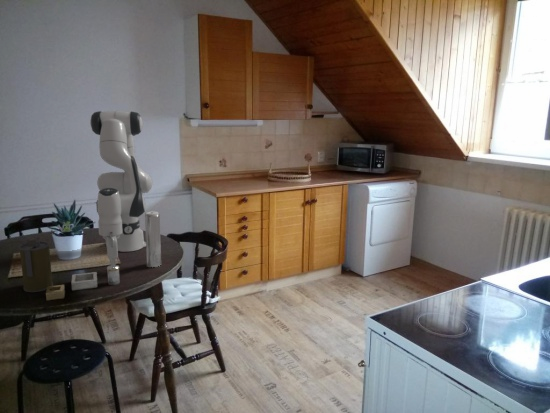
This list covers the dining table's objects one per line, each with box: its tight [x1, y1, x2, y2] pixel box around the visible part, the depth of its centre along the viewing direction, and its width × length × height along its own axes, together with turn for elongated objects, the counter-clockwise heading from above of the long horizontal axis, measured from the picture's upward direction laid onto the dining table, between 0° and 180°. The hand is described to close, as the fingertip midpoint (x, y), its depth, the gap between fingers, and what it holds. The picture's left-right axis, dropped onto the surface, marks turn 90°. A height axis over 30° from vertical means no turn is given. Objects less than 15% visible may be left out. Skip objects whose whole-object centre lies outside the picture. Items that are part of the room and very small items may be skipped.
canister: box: [18, 236, 54, 293], centre depth 166 cm, size 11×10×20 cm
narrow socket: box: [45, 284, 66, 301], centre depth 161 cm, size 6×6×3 cm
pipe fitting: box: [106, 264, 121, 286], centre depth 174 cm, size 5×5×7 cm
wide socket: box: [71, 271, 98, 291], centre depth 172 cm, size 9×9×3 cm
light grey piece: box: [144, 210, 162, 268], centre depth 192 cm, size 6×6×25 cm
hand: (112, 262), depth 172 cm, fingers open, 8 cm apart
